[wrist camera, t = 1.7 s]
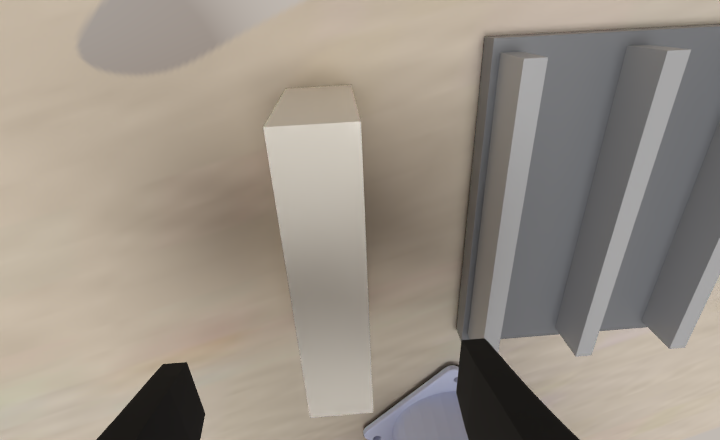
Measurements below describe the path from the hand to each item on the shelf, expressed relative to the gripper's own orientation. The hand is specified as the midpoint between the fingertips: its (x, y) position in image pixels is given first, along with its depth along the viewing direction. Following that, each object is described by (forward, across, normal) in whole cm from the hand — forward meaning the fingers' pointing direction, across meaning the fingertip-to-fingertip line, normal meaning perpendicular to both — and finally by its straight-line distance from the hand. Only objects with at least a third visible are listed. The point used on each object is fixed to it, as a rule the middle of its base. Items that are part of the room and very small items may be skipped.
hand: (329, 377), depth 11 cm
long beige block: (+9, 0, 0) cm, 9 cm away
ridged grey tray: (+9, -12, 0) cm, 15 cm away
